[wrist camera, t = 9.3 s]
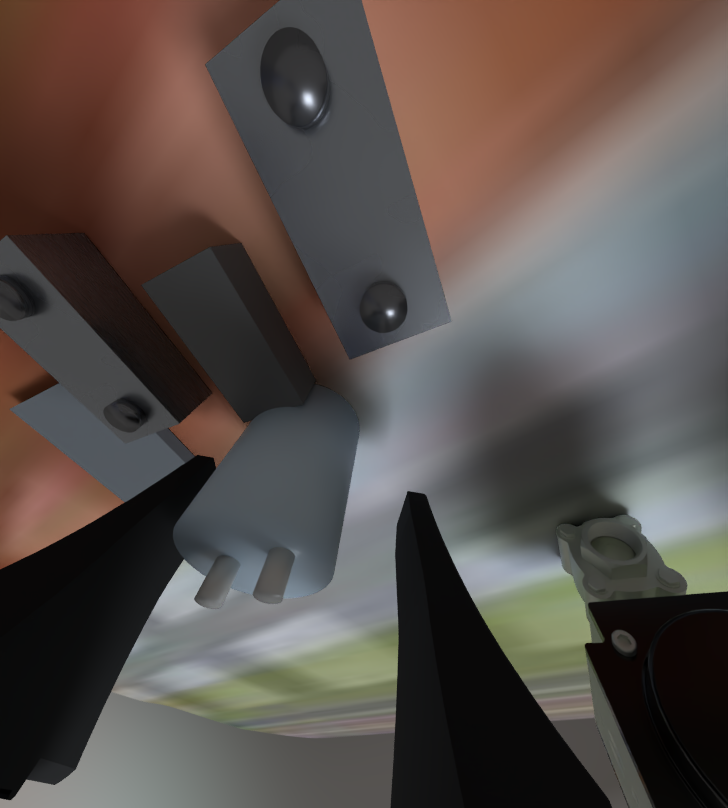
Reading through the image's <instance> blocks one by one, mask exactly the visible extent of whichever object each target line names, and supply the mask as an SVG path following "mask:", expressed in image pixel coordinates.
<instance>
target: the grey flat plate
mask: <svg viewBox="0 0 728 808" xmlns="http://www.w3.org/2000/svg"><path fill="white" fill-rule="evenodd" d="M10 410H11V411H12V412H14V413H15V414H16V415H17V416H19V417H20V418H21V419H22V420H24V421H25V422H26V423H27V424H28V425H30V426H31V427H32V428H33V429H35V430H36V431H37V432H38V433H40V434H41V435H42V436H43V437H45V438H46V439H47V440H48V441H50V442H51V443H52V444H53V445H54V446H56V447H57V448H58V449H59V450H61V451H62V452H63V453H64V454H66V455H67V456H68V457H69V458H71V459H72V460H73V461H74V462H76V463H77V464H78V465H79V466H81V467H82V468H83V469H84V470H85V471H87V472H88V473H89V474H90V475H92V476H93V477H94V478H95V479H97V480H98V481H99V482H100V483H102V484H103V485H104V486H105V487H107V488H108V489H109V490H110V491H112V492H113V493H114V494H115V495H116V496H118V497H119V498H120V499H121V500H123V501H124V502H126V501H128V500H130V499H131V498H133V497H134V496H136V495H138V494H139V493H141V492H142V491H144V490H145V489H147V488H148V487H150V486H151V485H153V484H154V483H156V482H158V481H159V480H161V479H162V478H164V477H165V476H167V475H168V474H170V473H171V472H173V471H174V470H176V469H177V468H179V467H180V466H181V465H183V464H184V463H186V462H188V461H189V460H191V459H192V458H194V457H195V456H194V455H193V454H192V453H191V452H190V451H189V450H188V449H187V448H186V447H185V446H184V445H183V444H182V443H181V442H180V441H179V440H178V439H177V438H176V436H175V435H174V434H173V433H172V432H171V431H170V430H169V429H168V428H166V429H164V430H161V431H158V432H156V433H153V434H150V435H148V436H145V437H142V438H140V439H137V440H134V441H132V442H129V443H126V444H125V443H124V442H123V441H122V440H121V439H119V438H118V437H117V436H116V435H115V434H114V433H113V432H112V431H111V430H110V429H109V428H108V427H106V426H105V425H104V424H103V423H102V422H101V421H100V420H99V419H98V418H97V417H96V416H95V415H94V414H92V413H91V412H90V411H89V410H88V409H87V408H86V407H85V406H84V405H83V404H82V403H81V402H80V401H78V400H77V399H76V398H75V397H74V396H73V395H72V394H71V393H70V392H69V391H68V390H67V389H65V388H64V387H63V386H62V385H61V384H60V383H59V384H57V385H55V386H53V387H51V388H49V389H47V390H45V391H43V392H41V393H40V394H38V395H36V396H34V397H32V398H30V399H28V400H26V401H24V402H22V403H20V404H19V405H17V406H15V407H13V408H11V409H10Z"/></svg>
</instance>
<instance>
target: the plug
mask: <svg viewBox="0 0 728 808" xmlns="http://www.w3.org/2000/svg"><path fill="white" fill-rule="evenodd" d="M141 286H142V287H143V288H144V290H145V291H146V292H147V294H148V295H149V296H150V298H151V299H152V300H153V302H154V303H155V304H156V306H157V307H158V308H159V310H160V311H161V312H162V314H163V315H164V316H165V318H166V319H167V320H168V322H169V323H170V324H171V326H172V327H173V328H174V330H175V331H176V332H177V334H178V335H179V337H180V338H181V339H182V341H183V342H184V343H185V345H186V346H187V347H188V349H189V350H190V351H191V353H192V354H193V355H194V357H195V358H196V359H197V361H198V362H199V363H200V365H201V366H202V367H203V369H204V370H205V371H206V373H207V374H208V375H209V377H210V378H211V379H212V381H213V382H214V383H215V385H216V386H217V387H218V389H219V390H220V391H221V393H222V394H223V395H224V397H225V398H226V400H227V401H228V402H229V404H230V405H231V406H232V408H233V409H234V410H235V412H236V413H237V414H238V416H239V417H240V418H241V420H242V421H243V422H244V423H245V422H248V421H251V420H252V421H251V422H250V424H249V425H248V426H247V428H246V429H245V430H244V432H243V433H242V434H241V436H240V437H239V439H238V440H237V441H236V443H235V444H234V445H233V447H232V448H231V449H230V451H229V452H228V453H227V455H226V456H225V458H224V459H223V460H222V462H221V463H220V464H219V466H218V467H217V468H216V470H215V471H214V472H213V474H212V475H211V476H210V478H209V479H208V481H207V482H206V483H205V485H204V486H203V487H202V489H201V490H200V491H199V493H198V494H197V495H196V497H195V498H194V500H193V501H192V502H191V504H190V505H189V506H188V508H187V509H186V510H185V512H184V513H183V514H182V516H181V517H180V519H179V520H178V521H177V523H176V525H175V527H174V530H173V540H174V543H175V546H176V548H177V550H178V551H179V553H180V554H181V556H182V557H183V558H184V559H185V560H186V561H187V562H188V563H189V564H190V565H191V566H192V567H193V568H195V569H196V570H197V571H199V572H200V573H202V574H203V575H205V576H206V578H205V580H204V582H203V583H202V585H201V587H200V589H199V591H198V593H197V595H196V596H195V598H194V599H195V601H196V602H197V603H198V604H199V605H201V606H203V607H206V608H210V609H219V608H221V607H222V605H223V603H224V601H225V599H226V597H227V594H228V592H229V590H230V588H232V589H235V590H238V591H241V592H244V593H248V594H252V595H253V596H254V597H255V598H256V599H257V600H259V601H261V602H264V603H268V604H278V603H280V602H282V599H283V598H297V597H303V596H308V595H311V594H314V593H316V592H318V591H320V590H322V589H323V588H325V587H326V586H327V585H328V584H329V583H330V582H331V580H332V578H333V575H334V570H335V565H336V559H337V554H338V548H339V543H340V537H341V532H342V526H343V521H344V515H345V510H346V504H347V499H348V494H349V488H350V483H351V477H352V472H353V466H354V461H355V455H356V450H357V444H358V439H359V432H360V427H359V421H358V418H357V415H356V413H355V411H354V410H353V408H352V407H351V405H350V404H349V403H348V402H347V401H346V400H345V399H344V398H343V397H342V396H340V395H339V394H337V393H336V392H334V391H333V390H330V389H328V388H326V387H323V386H320V385H316V384H314V383H315V381H316V379H315V378H314V376H313V374H312V372H311V370H310V368H309V367H308V365H307V363H306V361H305V359H304V357H303V356H302V354H301V352H300V350H299V348H298V346H297V345H296V343H295V341H294V339H293V337H292V335H291V333H290V332H289V330H288V328H287V326H286V324H285V322H284V321H283V319H282V317H281V315H280V313H279V311H278V310H277V308H276V306H275V304H274V302H273V300H272V298H271V297H270V295H269V293H268V291H267V289H266V287H265V286H264V284H263V282H262V280H261V278H260V276H259V275H258V273H257V271H256V269H255V267H254V265H253V264H252V262H251V260H250V258H249V256H248V254H247V252H246V251H245V249H244V247H243V245H242V243H237V244H229V245H221V246H214V247H209V248H207V249H205V250H204V251H202V252H200V253H198V254H196V255H195V256H193V257H191V258H189V259H187V260H185V261H184V262H182V263H180V264H178V265H176V266H175V267H173V268H171V269H169V270H167V271H166V272H164V273H162V274H160V275H158V276H157V277H155V278H153V279H151V280H149V281H148V282H146V283H144V284H142V285H141Z"/></svg>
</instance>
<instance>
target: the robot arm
mask: <svg viewBox="0 0 728 808" xmlns="http://www.w3.org/2000/svg"><path fill="white" fill-rule="evenodd" d="M215 470H216V467H215V462H214V458H212V457H206V456H200V455H197V456H195V457H194V458H192V459H191V460H189V461H188V462H186V463H184V464H183V465H181V466H180V467H179V468H177V469H176V470H174V471H173V472H171V473H170V474H168V475H167V476H165V477H164V478H162V479H161V480H159V481H158V482H156V483H154V484H153V485H151V486H150V487H148V488H147V489H145V490H144V491H142V492H141V493H139V494H138V495H136V496H134V497H133V498H131V499H130V500H128V501H126V502H125V503H123V504H121V505H120V506H118V507H117V508H115V509H113V510H112V511H110V512H108V513H107V514H105V515H103V516H102V517H100V518H98V519H97V520H95V521H93V522H92V523H90V524H88V525H86V526H85V527H83V528H81V529H79V530H77V531H76V532H74V533H72V534H70V535H68V536H66V537H64V538H63V539H61V540H59V541H57V542H55V543H53V544H51V545H49V546H48V547H46V548H44V549H42V550H40V551H38V552H36V553H34V554H32V555H29V556H27V557H25V558H23V559H21V560H19V561H17V562H15V563H13V564H11V565H9V566H7V567H5V568H3V569H0V798H1V799H6V800H11V799H12V798H13V797H15V795H16V794H17V792H18V791H19V789H20V788H21V787H22V785H23V783H24V782H25V780H26V779H27V780H32V781H37V782H43V783H48V784H53V785H55V784H57V783H59V782H60V781H62V780H63V779H64V778H66V777H67V776H69V775H70V774H71V773H72V772H73V771H74V770H75V769H76V767H77V765H78V763H79V760H80V758H81V756H82V753H83V751H84V749H85V747H86V745H87V742H88V740H89V738H90V735H91V733H92V731H93V729H94V727H95V725H96V722H97V720H98V718H99V716H100V714H101V711H102V709H103V707H104V705H105V703H106V701H107V699H108V696H109V695H110V693H111V690H112V688H113V686H114V684H115V682H116V680H117V678H118V676H119V674H120V672H121V670H122V668H123V666H124V664H125V662H126V660H127V658H128V656H129V654H130V652H131V650H132V648H133V646H134V644H135V642H136V640H137V638H138V636H139V635H140V633H141V631H142V629H143V627H144V625H145V623H146V621H147V619H148V618H149V616H150V614H151V612H152V610H153V608H154V607H155V605H156V603H157V601H158V599H159V597H160V596H161V594H162V592H163V591H164V589H165V588H166V586H167V584H168V583H169V581H170V580H171V578H172V576H173V575H174V573H175V572H176V570H177V569H178V567H179V566H180V564H181V563H182V561H183V560H184V558H183V557H182V556H181V554H180V553H179V551H178V550H177V548H176V546H175V543H174V540H173V530H174V527H175V525H176V523H177V521H178V520H179V519H180V517H181V516H182V514H183V513H184V512H185V510H186V509H187V508H188V506H189V505H190V504H191V502H192V501H193V500H194V498H195V497H196V495H197V494H198V493H199V491H200V490H201V489H202V487H203V486H204V485H205V483H206V482H207V481H208V479H209V478H210V476H211V475H212V474H213V472H214V471H215ZM395 559H396V582H397V603H398V628H399V645H398V676H397V700H396V723H395V742H394V763H393V779H392V794H391V808H612V806H611V804H610V801H609V800H608V798H607V796H606V795H605V794H604V792H603V791H602V790H601V788H600V787H599V786H598V785H597V783H596V782H595V781H594V779H593V778H592V777H591V775H590V774H589V773H588V772H587V770H586V769H585V768H584V766H583V765H582V764H581V762H580V761H579V760H578V759H577V757H576V756H575V754H574V753H573V752H572V750H571V749H570V748H569V746H568V745H567V744H566V742H565V741H564V740H563V738H562V737H561V735H560V734H559V733H558V731H557V730H556V728H555V727H554V726H553V724H552V723H551V721H550V720H549V719H548V717H547V716H546V714H545V713H544V712H543V710H542V709H541V707H540V706H539V705H538V703H537V702H536V700H535V699H534V698H533V696H532V695H531V693H530V691H529V690H528V688H527V687H526V685H525V684H524V682H523V681H522V679H521V678H520V676H519V675H518V673H517V672H516V670H515V669H514V667H513V666H512V664H511V663H510V661H509V660H508V658H507V657H506V655H505V654H504V652H503V651H502V649H501V648H500V646H499V644H498V643H497V641H496V639H495V638H494V636H493V635H492V633H491V631H490V630H489V628H488V626H487V625H486V623H485V621H484V619H483V618H482V616H481V614H480V612H479V611H478V609H477V607H476V605H475V604H474V602H473V600H472V598H471V596H470V594H469V593H468V591H467V589H466V587H465V585H464V583H463V581H462V579H461V577H460V575H459V573H458V571H457V569H456V567H455V565H454V563H453V561H452V559H451V556H450V554H449V552H448V550H447V547H446V545H445V543H444V541H443V539H442V536H441V534H440V531H439V529H438V526H437V524H436V521H435V519H434V516H433V514H432V511H431V508H430V505H429V502H428V499H427V497H426V495H425V494H422V493H416V492H410V491H408V492H407V495H406V498H405V501H404V505H403V508H402V511H401V514H400V517H399V520H398V523H397V532H396V550H395Z"/></svg>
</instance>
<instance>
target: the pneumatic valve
mask: <svg viewBox="0 0 728 808" xmlns="http://www.w3.org/2000/svg"><path fill="white" fill-rule="evenodd" d="M641 529H642V527H641V524H640V523H639V521H638V520H636V519H635V518H633V517H631V516H629V515H618V516H616V517H614V518H597V519H593V520H589V521H586V522H584V523H583V525H581V526H578V527H576V526H573V525H571V524H561V525H559V526H558V527H557V529H556V534H557V540H558V545H559V551H560V557H561V562H562V567H563V569H564V570H565V571H566V572H567V573H569V574H571V575H572V576H573V578H574V582H575V585H576V588H577V590H578V592H579V594H580V596H581V598H582V599H583V601H584V602H585V608H586V616H587V619H588V621H589V622H590V629H591V638H592V643H586V644H585V651H586V658H587V665H588V672H589V679H590V686H591V693H592V700H593V707H594V714H595V721H596V726H597V729H598V731H599V734H600V736H601V739H602V742H603V744H604V747H605V749H606V751H607V754H608V757H609V759H610V762H611V765H612V767H613V770H614V772H615V775H616V777H617V780H618V782H619V785H620V787H621V790H622V792H623V795H624V797H625V800H626V802H627V805H628V808H728V592H715V593H702V594H689V595H686V590H687V582H686V580H685V579H684V577H683V576H682V575H681V574H680V573H678V572H677V571H675V570H673V569H671V568H668V567H667V566H666V565H665V564H664V562H663V560H662V558H661V556H660V555H659V553H658V552H657V550H656V549H655V548H654V546H653V545H652V544H651V543H650V542H649V541H648V540H647V538H646V537H645V536H644V535H643V534H641Z"/></svg>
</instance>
